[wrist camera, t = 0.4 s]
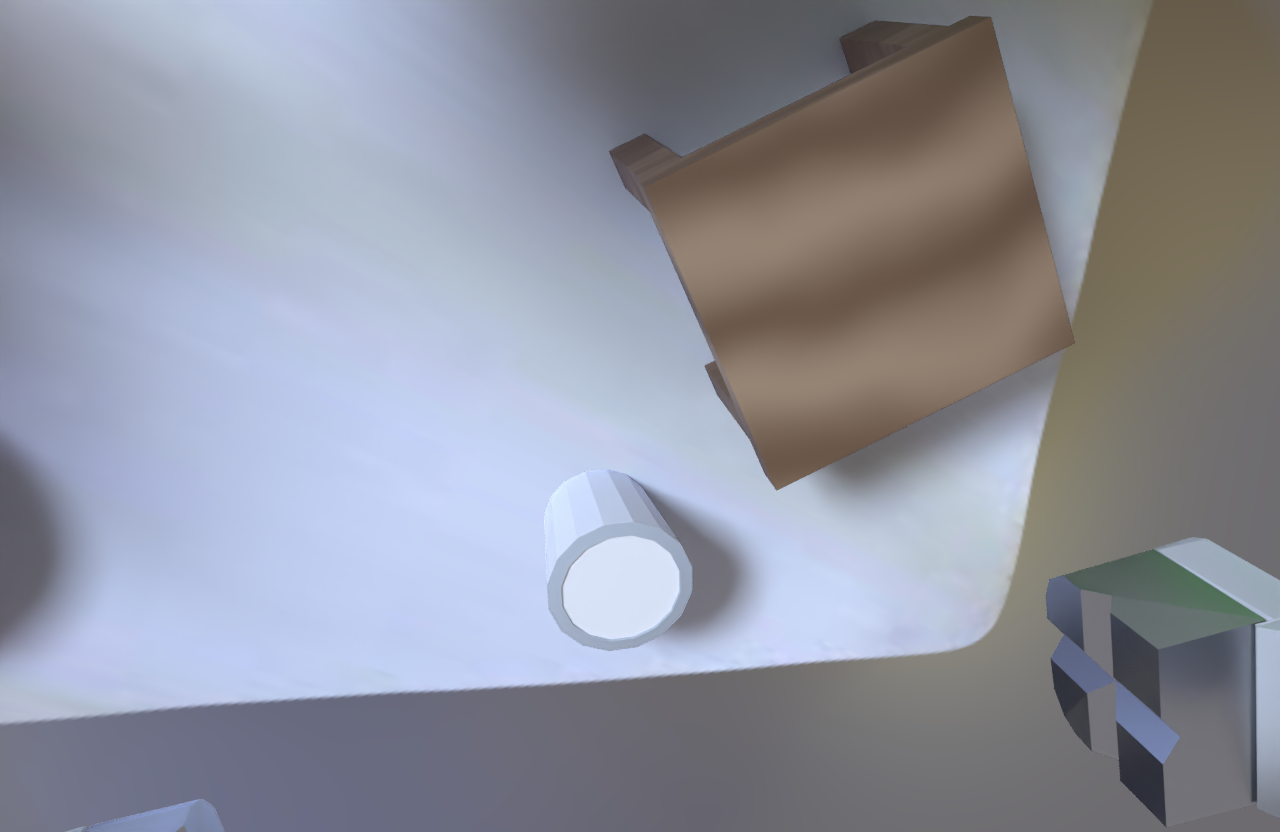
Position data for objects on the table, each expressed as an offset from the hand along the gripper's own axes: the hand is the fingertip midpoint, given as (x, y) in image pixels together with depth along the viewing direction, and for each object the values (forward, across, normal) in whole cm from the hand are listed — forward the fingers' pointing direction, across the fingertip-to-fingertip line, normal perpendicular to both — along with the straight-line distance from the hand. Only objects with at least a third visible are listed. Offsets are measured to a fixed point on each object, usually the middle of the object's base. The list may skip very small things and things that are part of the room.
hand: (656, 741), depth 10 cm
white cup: (+41, -1, +15) cm, 44 cm away
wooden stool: (+40, -13, +2) cm, 42 cm away
